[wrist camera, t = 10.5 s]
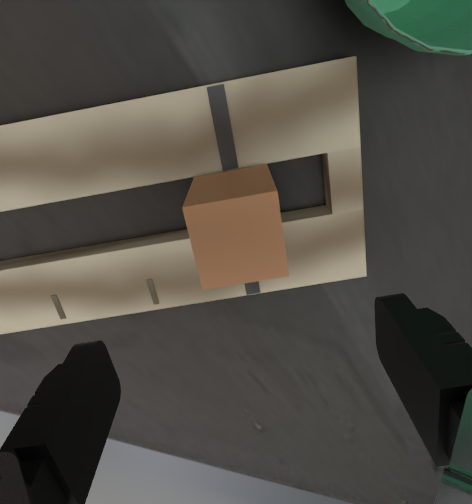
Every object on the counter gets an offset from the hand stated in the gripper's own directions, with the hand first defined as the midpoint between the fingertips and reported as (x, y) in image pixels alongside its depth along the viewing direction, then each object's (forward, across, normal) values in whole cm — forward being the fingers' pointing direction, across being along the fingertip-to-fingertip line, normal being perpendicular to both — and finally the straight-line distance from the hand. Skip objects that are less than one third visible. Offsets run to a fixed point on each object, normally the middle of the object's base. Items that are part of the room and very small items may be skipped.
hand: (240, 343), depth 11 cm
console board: (+17, +7, 0) cm, 18 cm away
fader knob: (+17, 0, 0) cm, 17 cm away
